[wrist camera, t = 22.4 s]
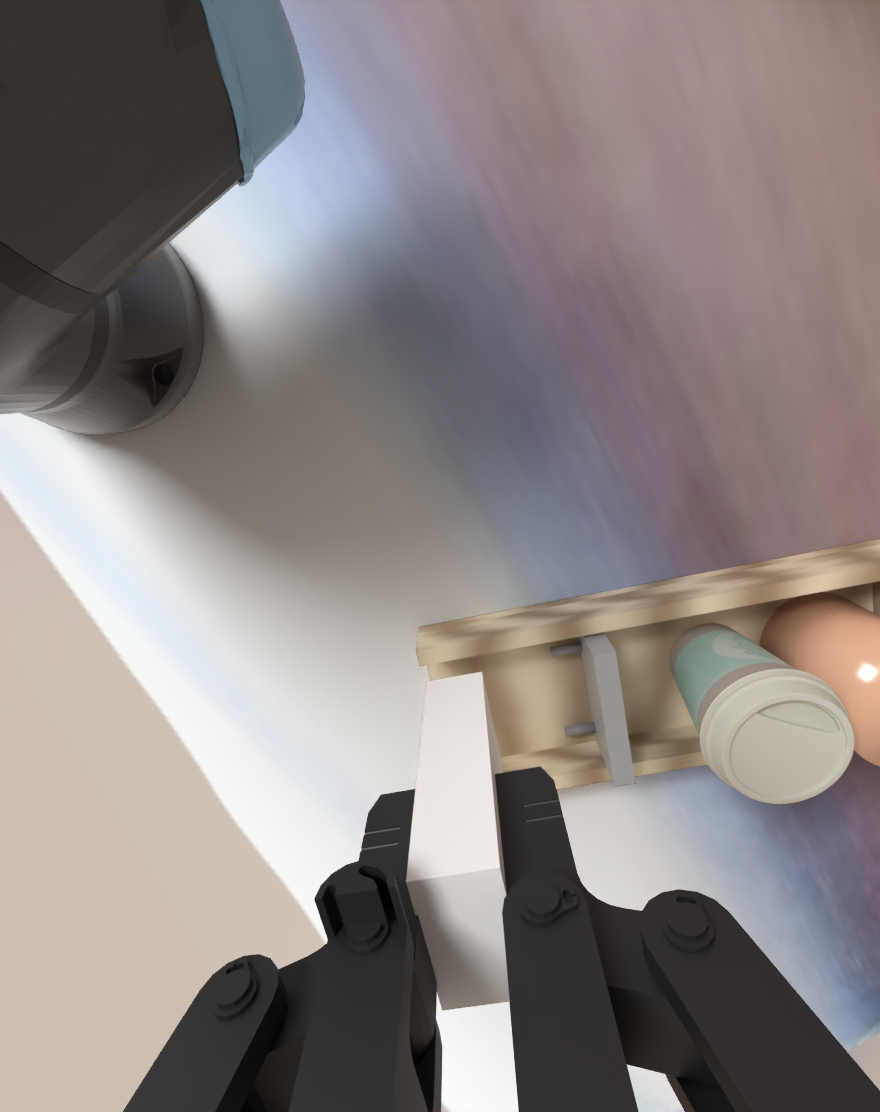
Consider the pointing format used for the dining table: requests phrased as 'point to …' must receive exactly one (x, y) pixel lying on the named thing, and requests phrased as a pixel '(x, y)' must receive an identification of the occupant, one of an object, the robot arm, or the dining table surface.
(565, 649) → the pusher
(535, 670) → the wooden tray
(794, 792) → the coffee cup
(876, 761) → the jar
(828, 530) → the dining table surface
